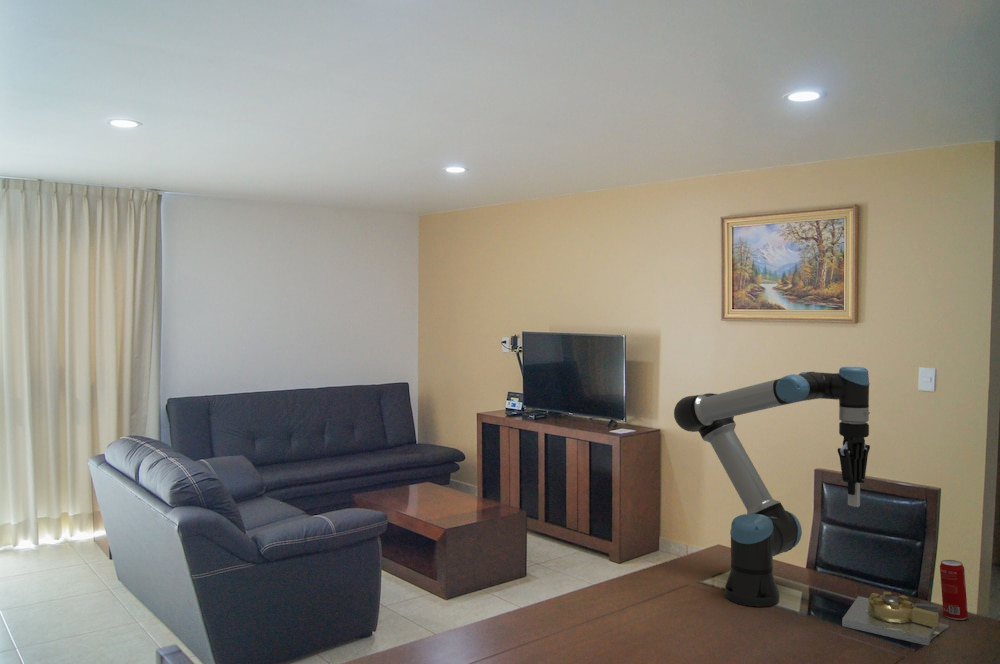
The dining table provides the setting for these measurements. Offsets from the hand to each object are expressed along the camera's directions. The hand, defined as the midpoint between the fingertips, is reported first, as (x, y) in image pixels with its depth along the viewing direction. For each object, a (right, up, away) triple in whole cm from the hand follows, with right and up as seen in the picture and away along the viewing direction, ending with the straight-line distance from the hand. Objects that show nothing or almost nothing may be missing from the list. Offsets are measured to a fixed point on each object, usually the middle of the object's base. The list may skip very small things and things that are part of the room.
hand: (853, 505), depth 205 cm
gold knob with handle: (+8, -27, -11) cm, 30 cm away
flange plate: (+6, -30, -9) cm, 31 cm away
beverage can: (+25, -30, -5) cm, 39 cm away
